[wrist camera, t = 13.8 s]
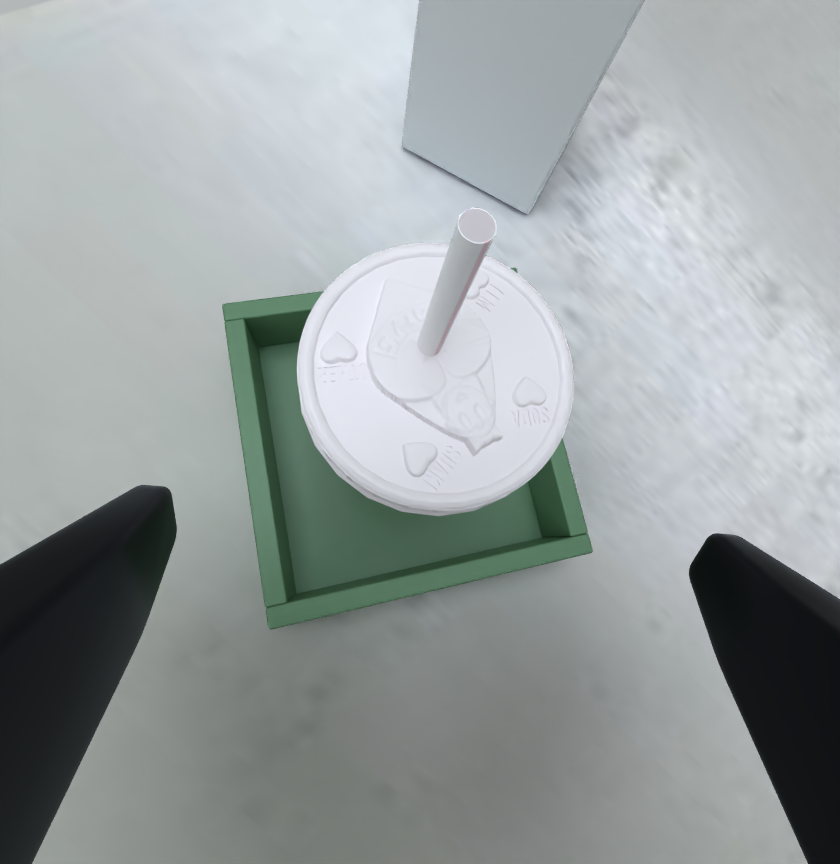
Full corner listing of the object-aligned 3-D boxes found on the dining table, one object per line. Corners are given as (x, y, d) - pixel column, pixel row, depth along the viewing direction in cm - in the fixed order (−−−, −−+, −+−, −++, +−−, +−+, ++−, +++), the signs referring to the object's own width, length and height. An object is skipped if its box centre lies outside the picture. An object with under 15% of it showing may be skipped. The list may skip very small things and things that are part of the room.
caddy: (556, 550, 21) (594, 552, 17) (282, 615, 19) (268, 630, 15) (493, 304, 23) (516, 266, 20) (241, 339, 21) (221, 303, 18)
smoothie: (425, 348, 21) (556, 12, 8) (503, 474, 20) (801, 351, 7) (292, 417, 20) (162, 155, 6) (371, 556, 19) (419, 602, 5)
